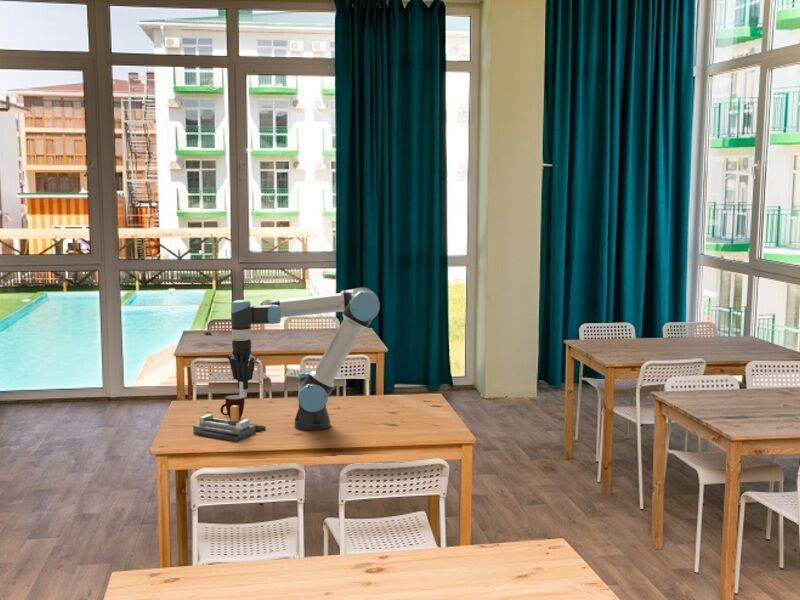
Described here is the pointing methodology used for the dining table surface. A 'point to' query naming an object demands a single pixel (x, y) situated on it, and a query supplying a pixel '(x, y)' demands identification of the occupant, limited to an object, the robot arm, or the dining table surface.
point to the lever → (234, 415)
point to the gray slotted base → (224, 427)
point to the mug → (232, 401)
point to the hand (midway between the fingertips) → (243, 397)
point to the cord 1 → (218, 435)
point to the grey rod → (258, 428)
